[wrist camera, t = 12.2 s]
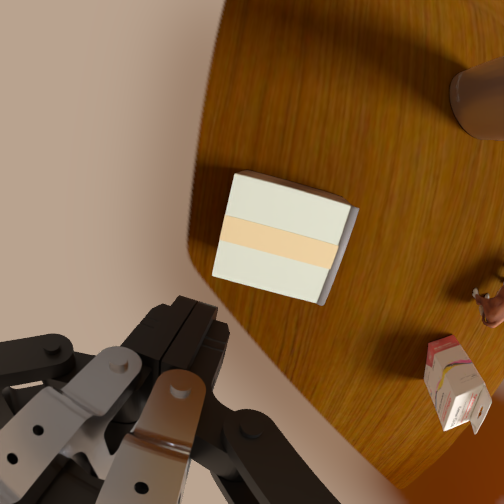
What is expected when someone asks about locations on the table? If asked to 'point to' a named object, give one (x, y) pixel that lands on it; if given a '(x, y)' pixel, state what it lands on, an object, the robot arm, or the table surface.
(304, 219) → the lid
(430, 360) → the ink cartridge box
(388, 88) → the table surface
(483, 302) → the bull figurine
